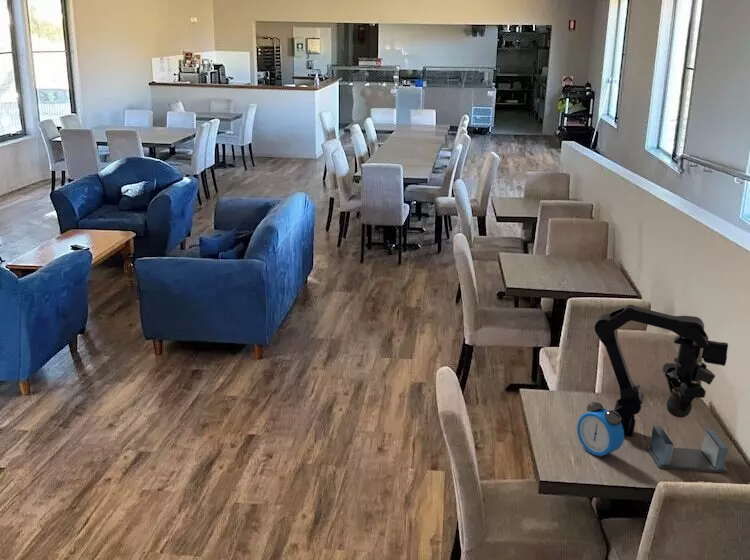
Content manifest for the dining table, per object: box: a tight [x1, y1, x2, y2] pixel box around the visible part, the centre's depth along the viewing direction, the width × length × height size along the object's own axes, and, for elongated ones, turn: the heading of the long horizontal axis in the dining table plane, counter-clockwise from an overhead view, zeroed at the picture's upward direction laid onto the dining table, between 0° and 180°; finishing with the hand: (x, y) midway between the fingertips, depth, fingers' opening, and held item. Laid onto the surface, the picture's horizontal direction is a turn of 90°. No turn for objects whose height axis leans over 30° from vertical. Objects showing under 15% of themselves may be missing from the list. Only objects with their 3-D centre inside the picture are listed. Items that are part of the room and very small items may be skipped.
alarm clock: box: [576, 400, 625, 460], centre depth 224 cm, size 13×6×15 cm, turn 35°
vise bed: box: [646, 428, 729, 473], centre depth 223 cm, size 20×11×8 cm, turn 88°
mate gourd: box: [666, 381, 693, 419], centre depth 230 cm, size 7×8×10 cm
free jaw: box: [649, 425, 674, 465], centre depth 223 cm, size 2×11×7 cm, turn 178°
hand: (678, 405), depth 230 cm, fingers closed on mate gourd, 7 cm apart
